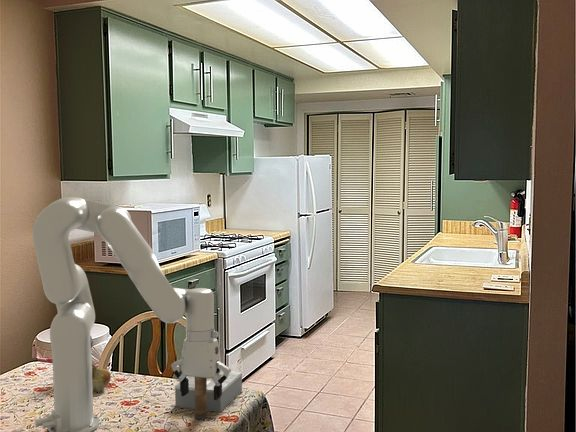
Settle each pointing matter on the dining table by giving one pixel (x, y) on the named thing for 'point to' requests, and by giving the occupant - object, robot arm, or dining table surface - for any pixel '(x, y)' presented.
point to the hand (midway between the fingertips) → (201, 396)
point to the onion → (100, 378)
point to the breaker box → (211, 392)
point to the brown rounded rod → (200, 398)
